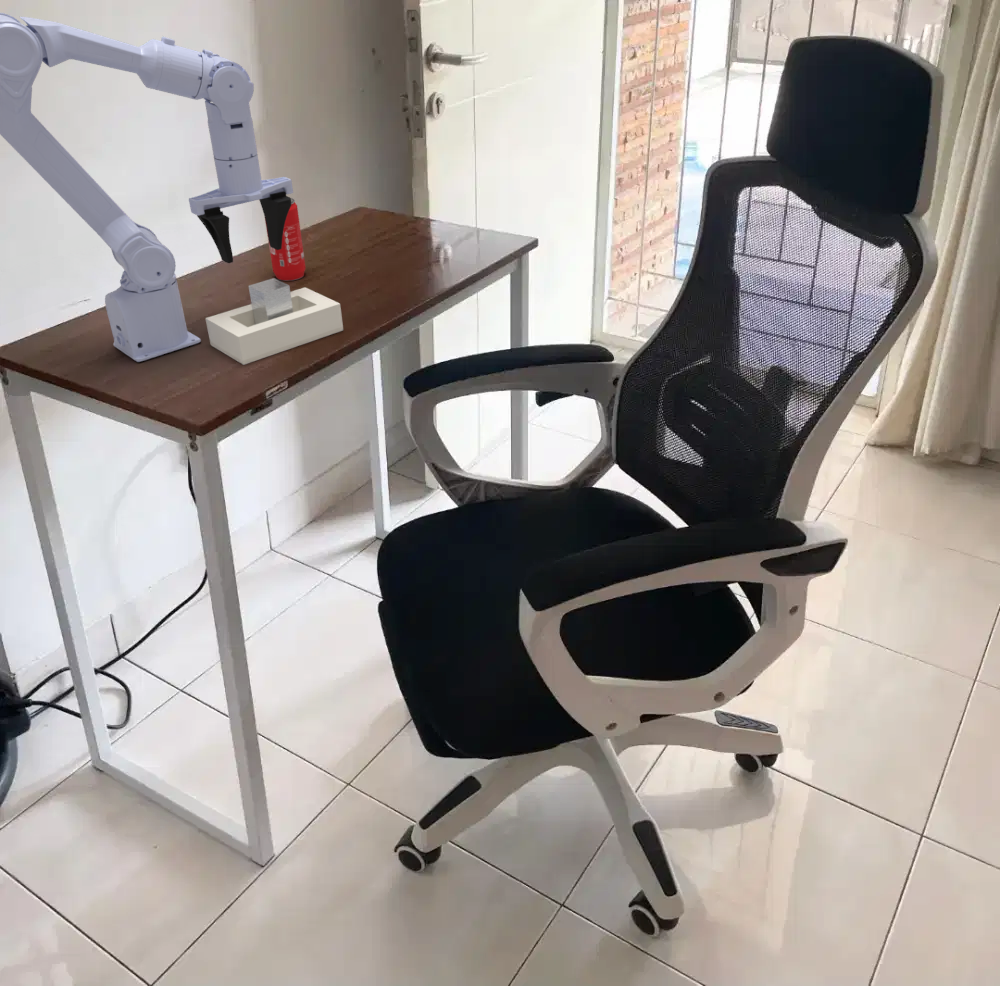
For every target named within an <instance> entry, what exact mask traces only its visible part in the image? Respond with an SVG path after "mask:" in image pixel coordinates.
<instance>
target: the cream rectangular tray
mask: <svg viewBox="0 0 1000 986" xmlns="http://www.w3.org/2000/svg"><path fill="white" fill-rule="evenodd" d="M290 294H291V301H292V308H293V313H290V314H287V315H284V316H281V317H278V318H275V319H272V320H269V321H265V322H262V323H259V324H256V325H255V321H254V316H253V310H252V304H251V303H250V304H247V305H244V306H241V307H240V306H239V307H237V308H233V309H231V310H228V311H223V312H221V313H218V314H216V315H211V316H208V317H205V322H206V324H205V325H206V328H207V332H208V339H209V342H210V346H211V347H213V348H215V349H216V350H218V351H220V352H222V353H223V354H225V355H226V356H228V357H230V358H231V359H233V360H235V361H237V362H238V363H240V364H241V365H243V366H244V365H247V364H251V363H253V362H255V361H258V360H262V359H264V358H267V357H270V356H273V355H276V354H279V353H281V352H285V351H287V350H290V349H293V348H294V349H295V348H296V347H298V346H302V345H305V344H308V343H311V342H314V341H316V340H319V339H322V338H325V337H328V336H330V335H333V334H336V333H340V332H342V331H344V325H343V324H344V323H343V317H342V316H343V315H342V309H341V303H339V302H338V301H336V300H333V299H331V298H329V297H327V296H325V295H323V294H321V293H318V292H317V291H316V292H315V291H314V290H312V289H310V288H308V287H302V288H298V289H295V290H292V291H290Z"/></svg>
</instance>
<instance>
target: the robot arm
mask: <svg viewBox="0 0 1000 986" xmlns="http://www.w3.org/2000/svg"><path fill="white" fill-rule="evenodd" d="M19 19H21V20H22V21H23V22H24V23H25V24H26V25H25V24H23V23H22V22H21V21H19V20H18V19H17V18H15V17H14V16H12V15H10V14H7V13H4V12H0V136H1V137H2V138H3V139H4V140H5V141H6V142H7V143H8V144H9V146H11V147H12V148H13V149H14V151H16V152H17V154H19V156H20V157H22V158H23V159H24V161H25V162H27V164H28V165H30V167H31V168H32V169H33V170H35V172H36V173H38V175H39V176H40V177H41V178H42V179H43V180H44V181H45V182H46V183H47V184H48V185H49V186H50V187H51V188H52V189H53V190H54V191H55V192H56V193H57V194H58V195H59V196H60V197H61V199H63V200H64V201H65V202H66V203H67V204H68V206H69V207H71V208H72V209H73V210H74V212H76V214H77V215H78V216H79V217H80V218H81V219H82V220H84V222H85V223H86V224H87V225H88V226H89V227H90V228H91V230H93V231H94V232H95V233H96V234H97V235H98V236H99V237H100V238H101V239H102V240H103V242H104V243H105V244H106V245H107V246H108V247H109V248H110V250H111V253H112V256H113V258H114V260H115V261H116V262H117V264H118V265H120V266H121V267H122V268H123V271H122V274H121V278H120V281H119V283H120V286H119V287H118V288H117V289H115V290H113V291H111V292H108V293H106V294H105V296H104V297H105V298H104V304H105V309H106V310H105V311H106V314H107V317H108V321H109V326H110V330H111V333H112V337H113V341H114V342H113V344H112V345H113V346H114V348H116V349H118V350H119V351H121V352H122V353H123V354H125V355H126V356H128V357H129V358H131V359H132V360H134V361H135V362H137V363H140V362H143V361H147V360H150V359H153V358H156V357H159V356H163V355H164V354H165V355H166V354H168V353H172V352H174V351H179V350H180V349H181V350H182V349H184V348H187V347H189V346H190V347H191V346H193V345H197V344H199V343H200V342H201V341H202V340H201V338H200V337H199V336H197V335H195V334H193V333H191V332H190V331H188V328H187V323H186V317H185V314H184V309H183V305H182V298H181V294H180V289H179V286H178V285H179V284H178V280H177V279H178V278H177V275H176V273H175V271H176V259H175V256H174V254H173V253H172V251H171V250H170V249H169V248H168V247H167V246H166V245H164V244H163V243H162V242H161V241H160V240H159V238H158V237H157V235H156V234H155V233H154V232H153V231H152V230H151V229H150V228H148V227H147V226H144V225H141V224H138V223H137V222H135V221H134V220H133V219H132V218H130V216H128V214H127V213H126V212H125V211H124V210H123V209H122V208H121V207H120V206H119V204H117V203H116V201H114V200H113V198H111V196H110V195H109V194H108V193H107V192H106V191H105V190H104V188H103V187H102V186H101V185H100V184H99V183H97V181H95V179H94V178H93V177H92V176H91V174H89V173H88V172H87V171H86V170H85V169H84V167H83V166H82V165H81V164H80V163H79V162H78V161H77V160H76V158H74V157H73V156H72V154H70V152H69V151H68V150H67V149H66V148H65V147H64V146H63V145H62V144H61V143H60V141H59V140H57V139H56V138H55V136H54V135H53V133H51V132H50V131H49V130H48V129H47V128H46V127H45V126H44V125H43V123H42V122H41V121H39V119H38V118H37V117H36V116H35V115H34V114H33V112H32V110H31V109H32V93H33V84H34V83H35V80H36V78H37V76H38V74H39V71H40V69H41V67H42V63H44V64H45V66H47V67H49V68H52V67H55V66H58V65H59V64H62V63H64V62H66V61H68V60H75V61H79V62H81V63H87V64H92V65H97V66H101V67H105V68H110V69H115V70H120V71H125V72H128V73H133V74H136V75H137V76H138V78H139V79H140V81H141V82H142V84H143V85H144V86H145V87H146V88H147V89H150V90H156V91H159V92H164V93H167V94H172V95H175V96H179V97H183V98H187V99H190V100H191V99H192V100H195V101H196V100H197V101H198V100H201V99H203V100H204V104H205V111H206V115H207V126H208V127H207V128H208V131H209V132H208V133H209V138H210V143H211V149H212V155H213V160H214V161H213V162H214V166H215V167H214V168H215V170H216V171H215V172H216V178H217V182H218V188H215V189H213V190H211V191H208V192H205V193H202V194H200V195H196V196H194V197H193V196H192V197H189V198H188V202H189V207H190V212H191V214H193V215H196V217H197V218H198V219H199V221H200V222H201V223H202V225H203V226H204V228H206V231H207V232H208V234H209V235H210V237H211V238H212V240H213V242H214V244H215V246H216V248H217V251H218V253H219V255H220V258H221V261H223V262H224V263H226V264H231V263H232V264H233V262H234V256H233V250H232V249H233V248H232V245H231V240H230V217H229V216H227V215H225V214H224V211H223V210H221V209H225V208H231V207H234V206H238V205H243V204H246V203H250V202H251V203H252V202H255V201H259V203H260V206H261V209H262V212H263V216H264V221H265V220H266V223H265V226H266V225H267V229H266V233H267V232H268V236H267V240H268V239H269V242H268V244H269V243H270V247H272V248H274V249H276V250H280V249H282V237H283V230H284V225H285V221H286V217H287V214H288V212H289V209H290V207H291V198H292V197H290V196H287V195H291V194H294V188H293V181H292V179H291V178H290V177H289V178H288V177H286V176H282V177H276V178H269V179H268V178H267V179H262V175H261V168H260V167H261V166H260V161H259V156H258V155H259V154H258V149H257V141H256V136H255V134H256V133H255V129H254V123H253V117H252V114H251V109H250V108H251V106H250V101H251V100H252V98H253V95H254V89H255V87H254V85H255V84H254V82H252V81H251V78H250V75H249V73H248V71H246V69H245V68H244V67H243V66H241V65H240V64H238V63H237V62H234V61H232V60H230V59H228V58H226V57H224V56H220V55H219V54H217V53H214V52H213V51H212V50H209V49H205V48H203V49H202V51H199V50H194V49H192V48H189V47H188V48H187V47H184V46H180V45H178V44H177V45H176V41H175V39H173V38H170V37H167V36H163V35H162V36H161V37H160V38H161V40H159V39H156V38H152V39H149V40H148V41H146V42H145V43H144V44H142V45H139V46H137V45H134V44H131V43H127V42H124V41H121V40H117V39H114V38H111V37H108V36H104V35H101V34H98V33H94V32H91V31H87V30H84V29H81V28H77V27H74V26H71V25H67V24H65V23H61V22H58V21H53V20H46V19H41V18H35V17H30V16H19Z"/></svg>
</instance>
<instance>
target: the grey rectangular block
mask: <svg viewBox="0 0 1000 986" xmlns="http://www.w3.org/2000/svg"><path fill="white" fill-rule="evenodd" d="M248 290H249V296H250V304H252V310H253V316H254V321H255V325H256V324H259V323H262V322H265V321H269V320H272V319H275V318H278V317H281V316H284V315H287V314H290V313H293V308H292V301H291V294H290V292H291V288H290V285H289V284H288V283H285V282H283V281H282V280H279V279H277V278H275V277H273V278H269V279H266V280H262V281H261V282H256V283H253V284H249V285H248Z"/></svg>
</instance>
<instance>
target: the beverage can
mask: <svg viewBox="0 0 1000 986" xmlns="http://www.w3.org/2000/svg"><path fill="white" fill-rule="evenodd" d="M290 198H291V207H290V209H289V212H288V214H287V217H286V221H285V225H284V230H283V237H282V249H280V250H276V249H274V248H272V247H270V243H269V239H268V238H267V242H268V246H269V247H268V248H269V255H270V261H271V267H272V272H273V274H274V275H275V277H276V279H277V280H279V281H281V282H283V281H284V282H285V281H286V282H291V281H295V280H300V279H302V278H304V276H305V271H306V267H307V266H306V261H305V253H304V246H303V240H302V239H303V238H302V232H301V231H302V229H301V224H300V218H299V209H298V204H297V203H296V200H295V198H293V197H290ZM264 223H265V229H266V230H267V225H266V220H265V219H264ZM266 234H267V237H268V232H267V231H266Z"/></svg>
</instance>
